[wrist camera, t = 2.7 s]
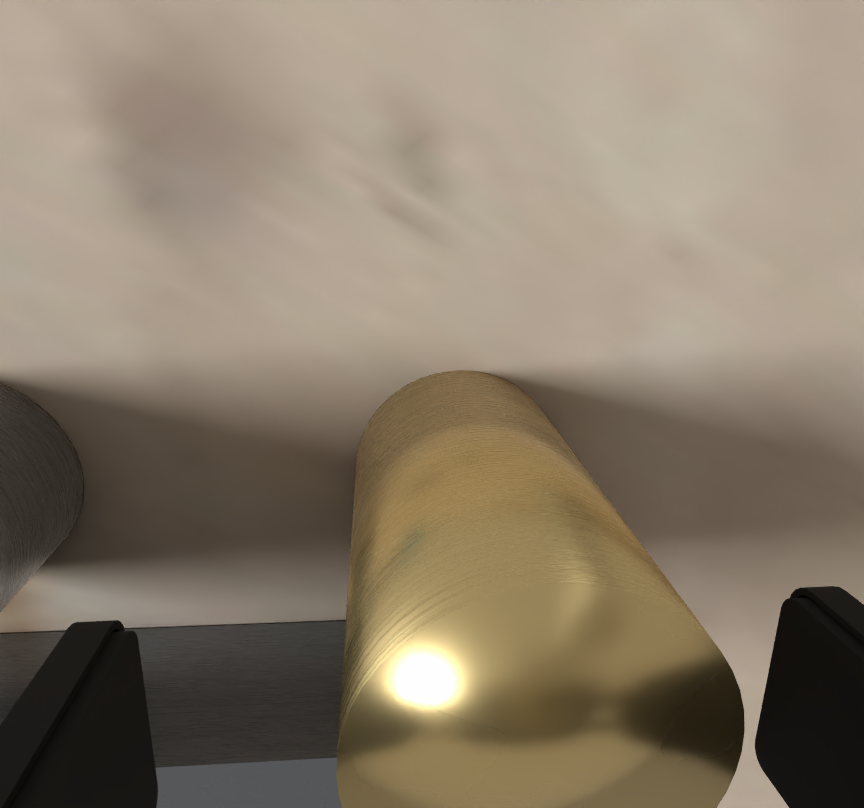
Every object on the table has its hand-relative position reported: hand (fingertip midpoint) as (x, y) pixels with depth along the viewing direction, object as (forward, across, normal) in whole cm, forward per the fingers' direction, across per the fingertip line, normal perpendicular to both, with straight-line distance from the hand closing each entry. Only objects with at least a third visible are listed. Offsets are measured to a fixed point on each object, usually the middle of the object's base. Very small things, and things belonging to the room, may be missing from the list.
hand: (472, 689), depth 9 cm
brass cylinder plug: (+6, -1, -1) cm, 6 cm away
